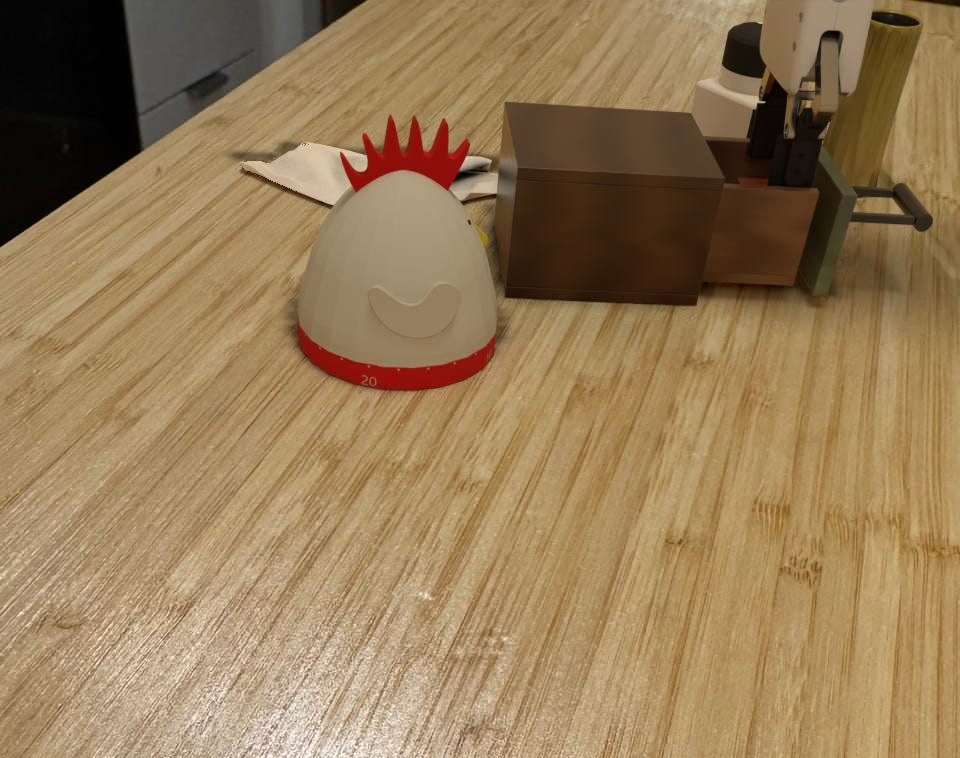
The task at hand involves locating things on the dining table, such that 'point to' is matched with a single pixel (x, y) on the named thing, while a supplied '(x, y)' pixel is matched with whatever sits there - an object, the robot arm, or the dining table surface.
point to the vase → (873, 97)
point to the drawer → (790, 221)
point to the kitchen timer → (399, 273)
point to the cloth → (327, 181)
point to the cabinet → (604, 204)
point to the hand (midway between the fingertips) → (778, 171)
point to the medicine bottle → (732, 86)
